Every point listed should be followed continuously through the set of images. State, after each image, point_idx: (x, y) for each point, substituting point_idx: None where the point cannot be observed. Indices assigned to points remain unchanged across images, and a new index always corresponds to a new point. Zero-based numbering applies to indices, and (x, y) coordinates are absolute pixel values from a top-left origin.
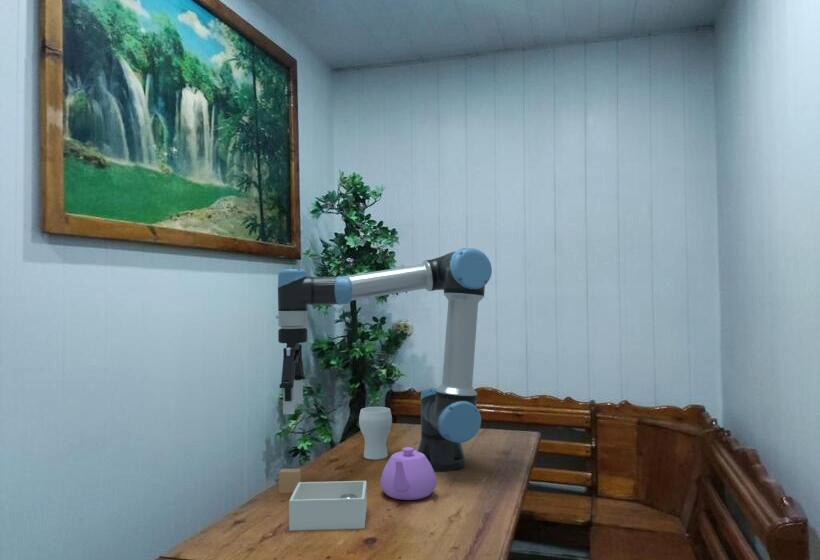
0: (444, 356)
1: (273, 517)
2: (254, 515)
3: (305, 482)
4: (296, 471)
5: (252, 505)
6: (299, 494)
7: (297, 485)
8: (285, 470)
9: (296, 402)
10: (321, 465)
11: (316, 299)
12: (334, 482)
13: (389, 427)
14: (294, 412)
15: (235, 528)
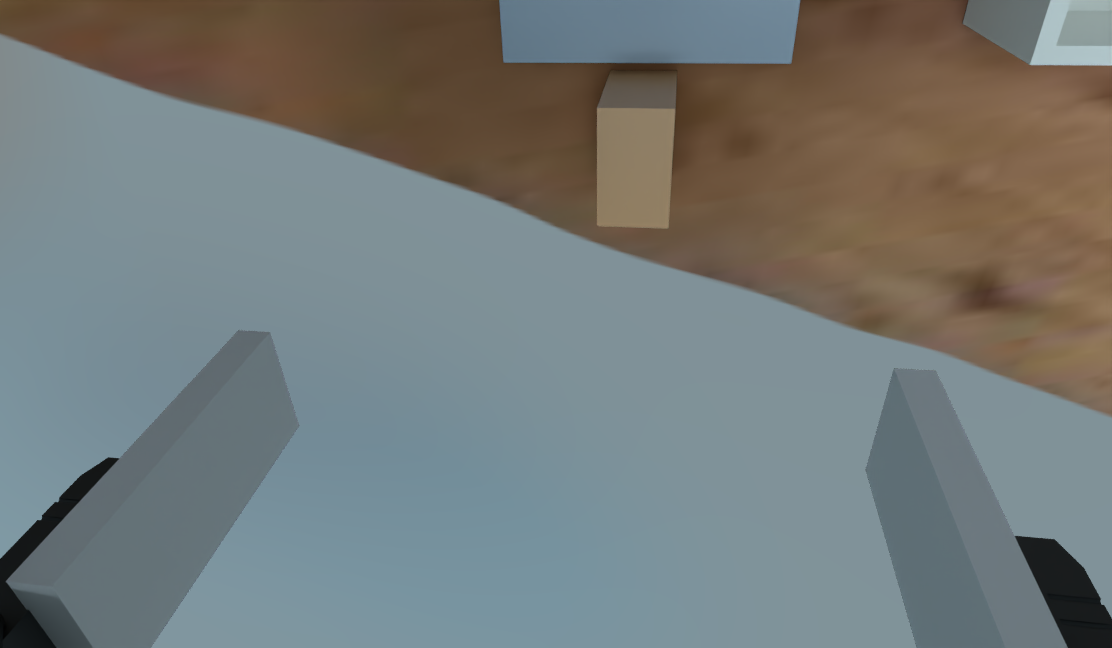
0: None
1: (986, 150)
2: (923, 243)
3: (1052, 11)
4: (661, 125)
5: (781, 274)
6: (1089, 33)
7: (1104, 61)
8: (633, 197)
9: (280, 404)
10: (134, 12)
11: None
12: None
13: None
14: (901, 376)
15: (1066, 292)
